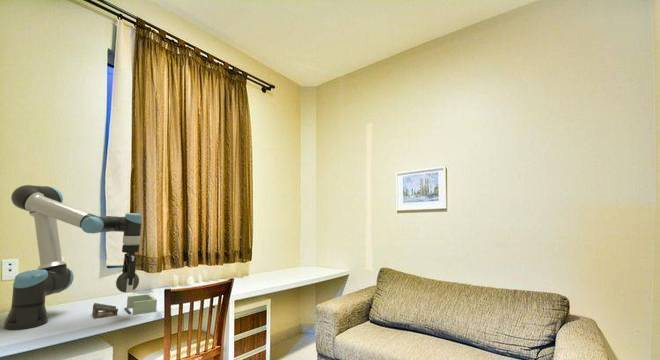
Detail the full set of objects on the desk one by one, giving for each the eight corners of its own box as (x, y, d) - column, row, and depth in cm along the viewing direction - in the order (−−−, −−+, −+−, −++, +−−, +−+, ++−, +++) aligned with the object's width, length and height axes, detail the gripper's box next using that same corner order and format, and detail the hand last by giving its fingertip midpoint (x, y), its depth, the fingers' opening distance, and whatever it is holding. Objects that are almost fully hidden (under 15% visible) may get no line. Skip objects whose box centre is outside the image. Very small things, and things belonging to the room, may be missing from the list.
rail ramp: (94, 318, 169) (95, 306, 170) (91, 314, 176) (92, 302, 177) (118, 315, 176) (119, 303, 176) (115, 311, 183) (116, 299, 183)
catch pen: (133, 314, 177) (134, 302, 178) (126, 307, 189) (127, 296, 189) (156, 311, 184) (156, 299, 185) (148, 304, 196) (149, 293, 196)
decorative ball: (109, 293, 170) (112, 272, 170) (126, 289, 179) (128, 269, 180) (127, 295, 167) (129, 274, 168) (142, 291, 177) (144, 271, 178)
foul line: (128, 314, 178) (128, 312, 178) (124, 309, 186) (124, 307, 186) (131, 313, 179) (131, 312, 179) (126, 308, 187) (126, 307, 187)
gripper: (145, 246, 169) (140, 293, 167) (134, 241, 186) (130, 284, 184) (127, 246, 164) (122, 295, 162) (118, 242, 182) (114, 286, 179)
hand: (126, 289), depth 173 cm, fingers closed on decorative ball, 10 cm apart
